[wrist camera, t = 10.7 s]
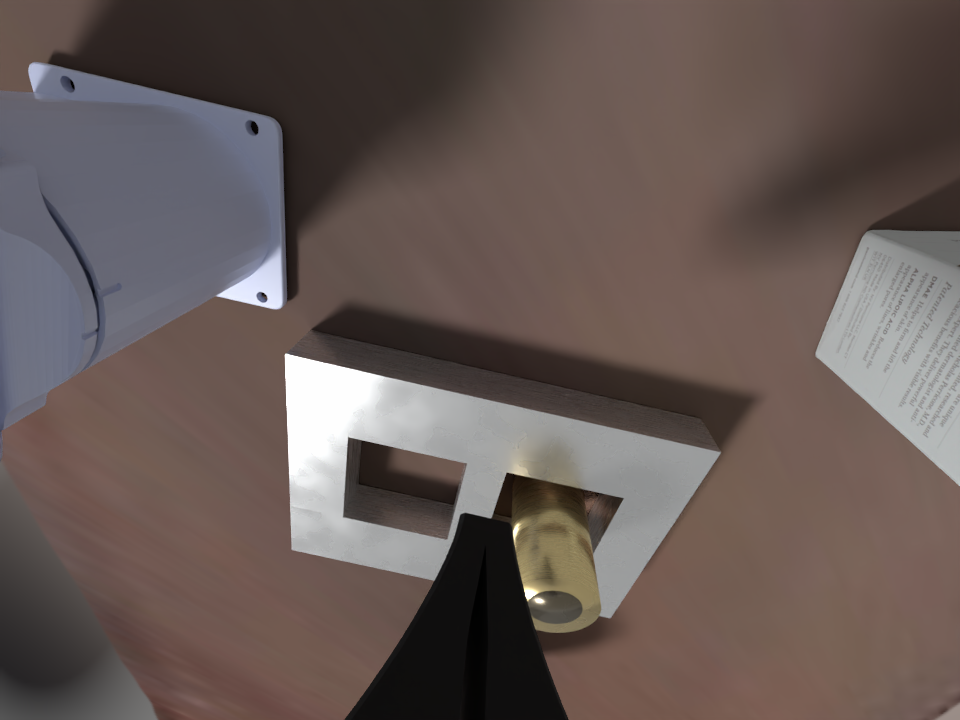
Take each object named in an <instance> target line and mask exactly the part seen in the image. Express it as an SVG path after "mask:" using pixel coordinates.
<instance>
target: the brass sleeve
mask: <svg viewBox="0 0 960 720" xmlns="http://www.w3.org/2000/svg"><path fill="white" fill-rule="evenodd" d="M511 526H512V530H513V538H514V545H515V550H516V556H517V561H518V565H519V570H520V574H521V579H522V583H523V587H524V591H525V594H526V598H527V602H528V606H529V609H530V613H531V616H532V620H533V623H534V626H535V629H536V630H540V631H544V632H552V633H565V632H572V631H577V630H580V629H583V628H585V627H587V626H589V625H591V624H592V623H593V622H595V621H596V620H597V618H598V617H599V615H600V613H601V602H600V595H599V589H598V582H597V576H596V570H595V563H594V557H593V551H592V544H591V538H590V531H589V525H588V519H587V512H586V506H585V499H584V493H583V489H580V488H575V487H571V486H566V485H562V484H557V483H553V482H548V481H544V480H539V479H535V478H530V477H526V476H521V475H516V476H515V478H514V481H513V496H512V525H511Z"/></svg>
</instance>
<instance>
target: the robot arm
mask: <svg viewBox="0 0 960 720" xmlns="http://www.w3.org/2000/svg"><path fill="white" fill-rule="evenodd" d="M28 71H29V77H30V81H31V84H32V88H33V91H34V93H30V92H13V91H0V461H1V458H2V446H3V441H2V432H1V430H4V429H6V428H7V427H9V426H11V425H12V424H14V423H16V422H17V421H19V420H21V419H22V418H24V417H26V416H28V415H29V414H31V413H33V412H34V411H36V410H38V409H39V408H41V407H43V406H44V405H45V404H46V397H47V394H48V392H49V391H50V390H51V389H53V388H55V387H57V386H58V385H60V384H62V383H64V382H65V381H67V380H69V379H71V378H72V377H74V376H75V375H77V374H79V373H81V372H82V371H84V370H86V369H88V368H89V367H91V366H93V365H95V364H96V363H98V362H100V361H102V360H104V359H105V358H107V357H109V356H111V355H112V354H114V353H116V352H118V351H119V350H121V349H123V348H125V347H127V346H128V345H130V344H132V343H134V342H135V341H137V340H139V339H141V338H142V337H144V336H146V335H148V334H149V333H151V332H153V331H155V330H157V329H158V328H160V327H162V326H164V325H165V324H167V323H169V322H171V321H172V320H174V319H176V318H178V317H179V316H181V315H183V314H185V313H187V312H188V311H190V310H192V309H194V308H195V307H197V306H199V305H201V304H202V303H204V302H206V301H208V300H210V299H211V298H213V297H215V296H218V297H223V298H227V299H231V300H236V301H240V302H245V303H249V304H253V305H258V306H262V307H267V308H271V309H280V308H282V307H283V306H284V305H285V304H286V303H287V278H286V243H285V207H284V172H283V137H282V129H281V127H280V125H279V123H278V122H277V121H276V120H275V119H274V118H272V117H270V116H266V115H262V114H257V113H253V112H249V111H245V110H241V109H236V108H232V107H228V106H224V105H220V104H215V103H211V102H207V101H203V100H199V99H194V98H190V97H186V96H182V95H178V94H173V93H169V92H165V91H161V90H157V89H152V88H148V87H144V86H140V85H136V84H131V83H127V82H123V81H119V80H115V79H110V78H106V77H102V76H98V75H93V74H89V73H85V72H81V71H77V70H72V69H68V68H64V67H60V66H56V65H51V64H47V63H40V62H33V63H31V64H30V66H29V69H28ZM70 79H71V80H72V81H73V83H74V85H75V90H74V89H73V88H72V86H71V84H70ZM252 121H254V122H255V123H256V124H257V125H258V128H259V131H258V134H257V135H256V134H254V132H253V131H252V129H251V122H252ZM261 292H263V293H265V294H266V295H267V298H268V300H267V299H265V298H263V296H262V294H261ZM345 720H568V717H567V715H566V712H565V710H564V708H563V705H562V703H561V700H560V698H559V695H558V692H557V690H556V687H555V685H554V682H553V679H552V677H551V674H550V671H549V669H548V666H547V663H546V660H545V657H544V654H543V651H542V648H541V645H540V642H539V639H538V636H537V633H536V630H535V626H534V623H533V620H532V616H531V613H530V609H529V606H528V602H527V598H526V594H525V591H524V587H523V583H522V579H521V574H520V570H519V565H518V561H517V556H516V550H515V545H514V538H513V530H512V526H511V524H510V523H508V522H504V521H500V520H495V519H491V518H487V517H482V516H478V515H474V514H470V513H463V514H460V517H459V521H458V525H457V528H456V532H455V536H454V539H453V541H452V544H451V546H450V549H449V551H448V554H447V556H446V558H445V560H444V562H443V564H442V567H441V569H440V571H439V573H438V575H437V577H436V579H435V581H434V583H433V585H432V587H431V589H430V590H429V592H428V594H427V596H426V597H425V599H424V601H423V603H422V605H421V606H420V608H419V610H418V612H417V613H416V615H415V617H414V619H413V620H412V622H411V624H410V625H409V627H408V628H407V630H406V632H405V633H404V635H403V637H402V638H401V640H400V641H399V643H398V644H397V646H396V647H395V649H394V650H393V652H392V654H391V655H390V657H389V658H388V660H387V661H386V663H385V664H384V665H383V667H382V668H381V670H380V671H379V673H378V674H377V676H376V677H375V678H374V680H373V681H372V683H371V684H370V686H369V687H368V689H367V690H366V691H365V693H364V694H363V695H362V697H361V698H360V700H359V701H358V702H357V704H356V705H355V706H354V708H353V709H352V710H351V712H350V713H349V714H348V716H347V717H346V718H345Z"/></svg>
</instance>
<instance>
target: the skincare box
mask: <svg viewBox="0 0 960 720" xmlns="http://www.w3.org/2000/svg"><path fill="white" fill-rule="evenodd" d="M815 354H816V357H817V358H819V359H820V360H821V361H822V362H823V363H824V364H826V365H827V366H828V367H829V368H830V369H831V370H832V371H833V372H834V373H836V374H837V375H838V376H839V377H840V378H841V379H842V380H843V381H844V382H845V383H846V384H848V385H849V386H850V387H851V388H852V389H853V390H854V391H855V392H856V393H858V394H859V395H860V396H861V397H862V398H863V399H864V400H865V401H867V402H868V403H869V404H870V405H871V406H872V407H873V408H874V409H875V410H876V411H878V412H879V413H880V414H881V415H882V416H883V417H884V418H885V419H886V420H887V421H888V422H889V423H891V424H892V425H893V426H894V427H895V428H896V429H897V430H898V431H900V432H901V433H902V434H903V435H904V436H905V437H906V438H907V439H908V440H909V441H911V442H912V443H913V444H914V445H915V446H916V447H917V448H918V449H919V450H920V451H922V452H923V453H924V454H925V455H926V456H927V457H928V458H929V459H930V460H932V461H933V462H934V463H935V464H936V465H937V466H938V467H939V468H940V469H942V470H943V471H944V472H945V473H946V474H947V475H948V476H949V477H950V478H951V479H953V480H954V481H955V482H956V483H957V484H958V485H959V486H960V231H898V230H870V231H867V232H866V233H865V234H864V236H863V237H862V239H861V241H860V244H859V246H858V249H857V251H856V253H855V256H854V258H853V261H852V263H851V266H850V268H849V271H848V273H847V276H846V278H845V281H844V283H843V286H842V288H841V290H840V293H839V295H838V298H837V300H836V303H835V305H834V308H833V310H832V313H831V315H830V317H829V320H828V322H827V325H826V327H825V330H824V332H823V335H822V337H821V340H820V342H819V345H818V347H817V350H816V353H815Z"/></svg>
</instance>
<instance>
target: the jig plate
mask: <svg viewBox="0 0 960 720" xmlns="http://www.w3.org/2000/svg"><path fill="white" fill-rule="evenodd" d="M285 357H286V388H287V418H288V448H289V479H290V509H291V539H292V550H295V551H299V552H304V553H309V554H313V555H318V556H323V557H327V558H332V559H337V560H341V561H346V562H351V563H355V564H360V565H365V566H369V567H374V568H379V569H383V570H388V571H393V572H397V573H402V574H406V575H411V576H416V577H420V578H425V579H430V580H434V581H435V579H436V577H437V575H438V573H439V571H440V569H441V567H442V564H443V562H444V560H445V558H446V556H447V554H448V551H449V549H450V546H451V544H452V541H453V539H454V536H455V532H456V528H457V525H458V521H459V517H460V514H463V513H470V514H474V515H478V516H482V517H487V518H491V519H495V520H500V521H504V522H508V523H510V524H511V525H512V518H511V517H506V516H502V515H497V514H493V512H494V509H495V506H496V503H497V500H498V497H499V494H500V491H501V488H502V485H503V482H504V479H505V476H506V473H507V472H508V473H512V474H517V475H521V476H526V477H530V478H535V479H539V480H544V481H548V482H553V483H557V484H562V485H566V486H571V487H575V488H580V489H584V490H589V491H594V492H598V493H599V495H598V497H597V499H596V501H595V503H594V505H593V507H592V509H591V511H590V513H589V515H588V517H587V519H588V525H589V531H590V538H591V544H592V551H593V557H594V563H595V570H596V576H597V582H598V589H599V595H600V602H601V613H600V615H599V616H602V617H607V618H611V617H612V615H613V614H614V612H615V611H616V609H617V608H618V606H619V605H620V603H621V602H622V600H623V599H624V597H625V596H626V594H627V593H628V591H629V590H630V588H631V587H632V585H633V584H634V582H635V581H636V579H637V578H638V576H639V575H640V573H641V572H642V570H643V569H644V567H645V566H646V564H647V563H648V561H649V560H650V558H651V557H652V555H653V554H654V552H655V551H656V549H657V548H658V546H659V545H660V543H661V542H662V540H663V539H664V537H665V536H666V534H667V533H668V531H669V530H670V528H671V527H672V525H673V524H674V522H675V521H676V519H677V518H678V516H679V515H680V513H681V512H682V510H683V509H684V507H685V506H686V504H687V503H688V501H689V500H690V498H691V497H692V495H693V494H694V492H695V491H696V489H697V488H698V486H699V485H700V483H701V482H702V480H703V479H704V477H705V476H706V474H707V473H708V471H709V470H710V468H711V467H712V465H713V464H714V462H715V461H716V459H717V458H718V456H719V455H720V453H721V451H720V450H719V448H718V446H717V445H716V443H715V441H714V440H713V438H712V436H711V435H710V433H709V431H708V429H707V428H706V426H705V424H704V423H703V421H702V419H701V418H696V417H692V416H687V415H683V414H678V413H674V412H670V411H665V410H661V409H656V408H652V407H648V406H643V405H639V404H634V403H630V402H626V401H621V400H617V399H612V398H608V397H604V396H599V395H595V394H590V393H586V392H582V391H577V390H573V389H568V388H564V387H560V386H555V385H551V384H546V383H542V382H537V381H533V380H529V379H524V378H520V377H515V376H511V375H507V374H502V373H498V372H493V371H489V370H485V369H480V368H476V367H471V366H467V365H463V364H458V363H454V362H449V361H445V360H441V359H436V358H432V357H427V356H423V355H418V354H414V353H410V352H405V351H401V350H396V349H392V348H388V347H383V346H379V345H374V344H370V343H366V342H361V341H357V340H352V339H348V338H344V337H339V336H335V335H330V334H326V333H322V332H317V331H313V330H310V331H309V332H308V333H307V334H306V335H305V336H304V337H303V338H302V339H301V340H300V341H299V342H297V343H296V344H295V345H294V346H293V347H292V348H291V349H290V350H289V351H288V352H287V353H286V354H285ZM362 440H363V441H368V442H372V443H377V444H381V445H386V446H390V447H395V448H399V449H404V450H409V451H413V452H418V453H422V454H427V455H431V456H436V457H440V458H445V459H449V460H454V461H458V462H463V463H464V467H463V471H462V475H461V479H460V482H459V486H458V490H457V494H456V498H455V502H454V505H452V504H447V503H442V502H438V501H433V500H429V499H424V498H420V497H415V496H411V495H406V494H401V493H397V492H392V491H388V490H383V489H379V488H374V487H369V486H365V485H360V484H358V481H359V469H360V457H361V445H362Z"/></svg>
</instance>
